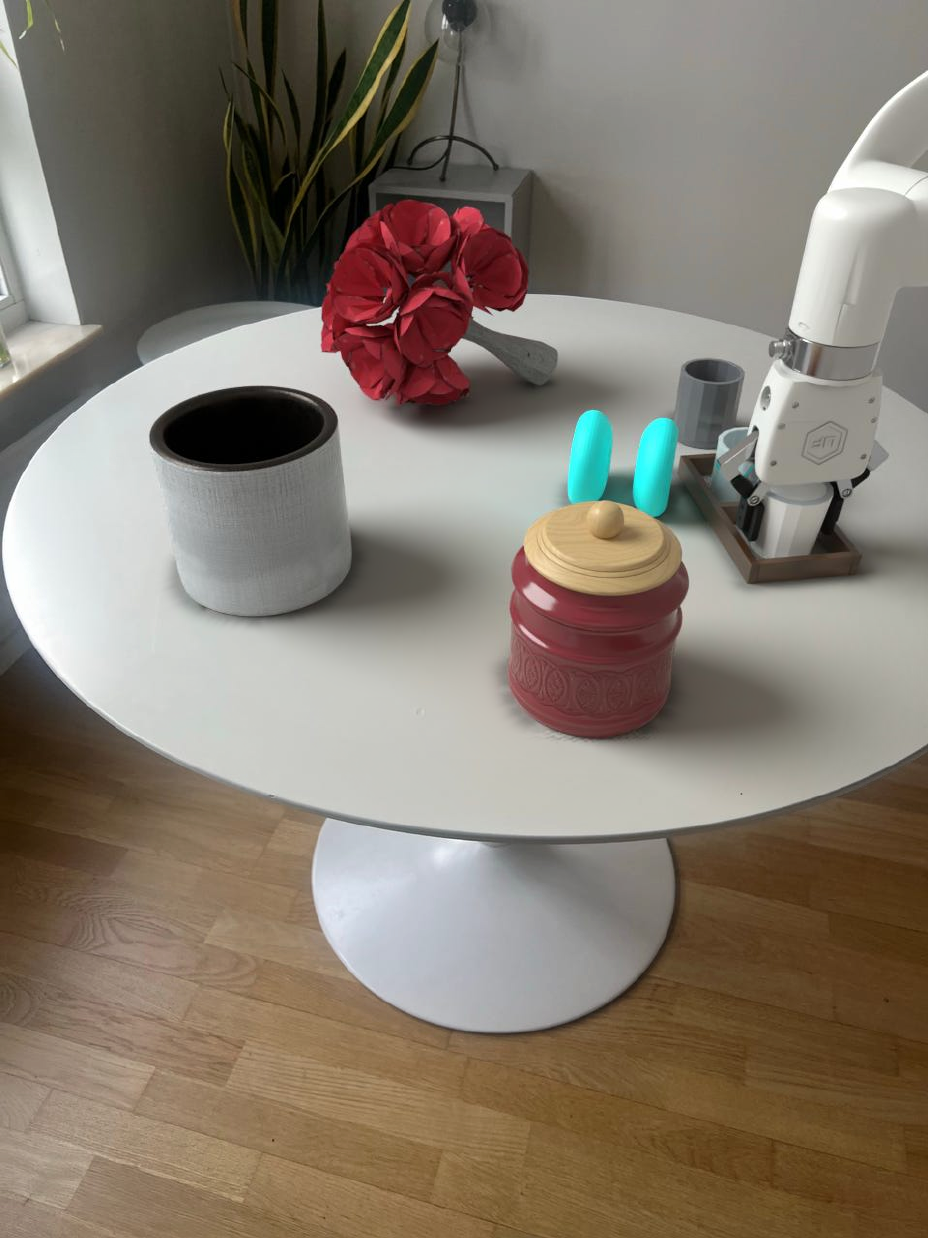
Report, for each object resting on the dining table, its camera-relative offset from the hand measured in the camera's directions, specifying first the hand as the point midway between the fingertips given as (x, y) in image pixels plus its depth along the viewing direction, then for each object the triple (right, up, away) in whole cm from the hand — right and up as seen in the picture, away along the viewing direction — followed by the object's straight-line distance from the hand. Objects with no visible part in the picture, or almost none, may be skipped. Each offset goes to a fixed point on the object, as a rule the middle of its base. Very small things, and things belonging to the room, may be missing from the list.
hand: (784, 529), depth 89 cm
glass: (-1, +4, +9) cm, 10 cm away
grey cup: (-3, +13, +21) cm, 25 cm away
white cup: (0, -2, +1) cm, 2 cm away
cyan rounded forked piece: (-15, +3, +9) cm, 17 cm away
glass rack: (-1, +1, +6) cm, 6 cm away
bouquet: (-33, +20, +30) cm, 49 cm away
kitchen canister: (-21, -15, -13) cm, 28 cm away
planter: (-49, -4, 0) cm, 49 cm away
